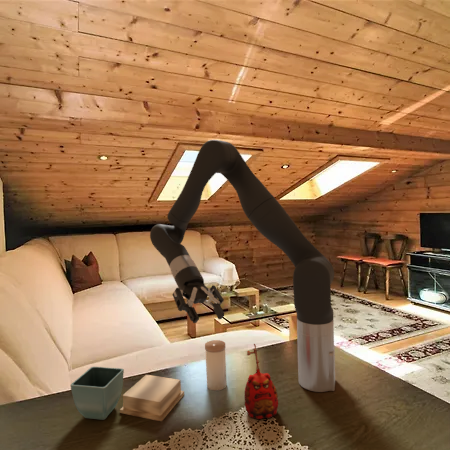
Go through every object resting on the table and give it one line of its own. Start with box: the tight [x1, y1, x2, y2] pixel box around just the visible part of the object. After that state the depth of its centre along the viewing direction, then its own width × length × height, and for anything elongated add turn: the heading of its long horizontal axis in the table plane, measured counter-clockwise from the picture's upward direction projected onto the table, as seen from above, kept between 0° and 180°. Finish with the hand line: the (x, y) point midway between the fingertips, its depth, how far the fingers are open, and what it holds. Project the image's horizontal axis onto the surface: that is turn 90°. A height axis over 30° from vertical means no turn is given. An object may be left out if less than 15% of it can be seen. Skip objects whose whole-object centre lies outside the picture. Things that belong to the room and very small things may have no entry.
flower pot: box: [70, 366, 125, 421], centre depth 79 cm, size 9×9×9 cm
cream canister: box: [204, 339, 228, 391], centre depth 89 cm, size 5×5×11 cm
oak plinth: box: [119, 374, 185, 422], centre depth 82 cm, size 11×11×4 cm
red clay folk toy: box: [244, 343, 279, 420], centre depth 77 cm, size 8×7×15 cm
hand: (209, 319), depth 90 cm, fingers open, 8 cm apart
